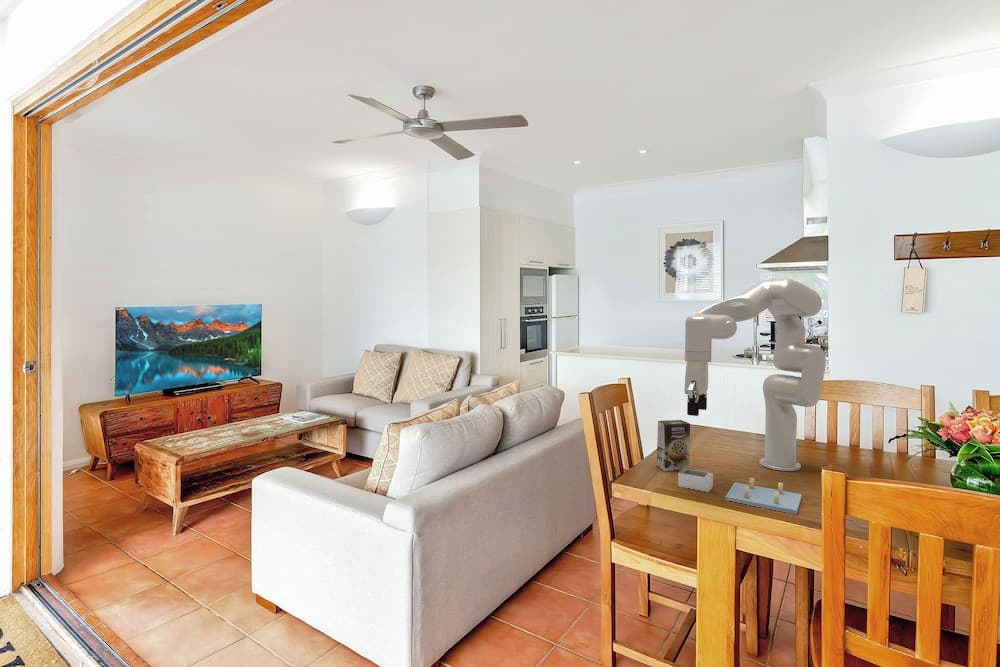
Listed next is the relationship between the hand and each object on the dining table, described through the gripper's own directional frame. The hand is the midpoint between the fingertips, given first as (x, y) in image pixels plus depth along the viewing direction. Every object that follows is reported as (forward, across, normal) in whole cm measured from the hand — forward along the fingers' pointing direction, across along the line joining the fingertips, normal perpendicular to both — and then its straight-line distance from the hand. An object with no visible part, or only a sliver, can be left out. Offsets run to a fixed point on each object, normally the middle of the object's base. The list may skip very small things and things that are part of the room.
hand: (697, 412), depth 160 cm
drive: (+24, 0, 0) cm, 24 cm away
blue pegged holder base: (+23, 0, +19) cm, 30 cm away
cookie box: (+24, -14, -11) cm, 30 cm away
